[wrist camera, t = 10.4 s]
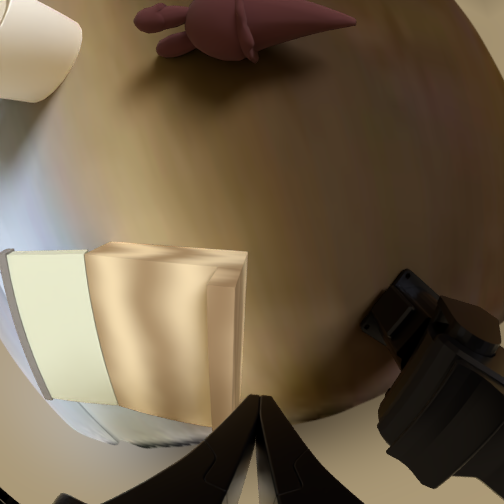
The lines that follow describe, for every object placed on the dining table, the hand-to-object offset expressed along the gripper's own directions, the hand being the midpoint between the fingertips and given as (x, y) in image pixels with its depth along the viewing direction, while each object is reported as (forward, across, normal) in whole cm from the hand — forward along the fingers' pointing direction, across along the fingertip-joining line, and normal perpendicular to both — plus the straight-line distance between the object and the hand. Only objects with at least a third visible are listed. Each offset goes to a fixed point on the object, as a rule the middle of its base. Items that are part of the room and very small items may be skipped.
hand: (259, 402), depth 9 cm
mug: (+13, -26, +22) cm, 36 cm away
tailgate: (+9, -14, -6) cm, 18 cm away
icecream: (+13, -3, +19) cm, 24 cm away
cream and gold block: (+13, -8, -6) cm, 16 cm away
